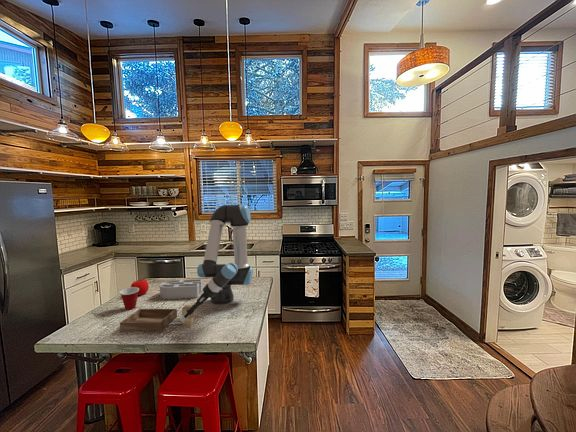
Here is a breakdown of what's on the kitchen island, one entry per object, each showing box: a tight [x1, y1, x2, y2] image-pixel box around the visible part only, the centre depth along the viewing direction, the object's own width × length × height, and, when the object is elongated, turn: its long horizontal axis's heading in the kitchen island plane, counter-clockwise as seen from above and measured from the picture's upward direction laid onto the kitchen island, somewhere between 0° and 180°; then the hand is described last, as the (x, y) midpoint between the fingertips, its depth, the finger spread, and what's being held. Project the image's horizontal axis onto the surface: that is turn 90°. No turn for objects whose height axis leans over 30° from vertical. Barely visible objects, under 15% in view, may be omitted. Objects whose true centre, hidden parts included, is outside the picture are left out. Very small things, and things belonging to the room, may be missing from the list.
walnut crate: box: [119, 308, 178, 333], centre depth 150 cm, size 18×22×5 cm
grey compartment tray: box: [159, 278, 204, 300], centre depth 196 cm, size 17×28×9 cm, turn 95°
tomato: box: [130, 279, 150, 296], centre depth 197 cm, size 12×12×11 cm
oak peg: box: [181, 304, 196, 328], centre depth 149 cm, size 5×5×10 cm
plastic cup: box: [119, 286, 139, 311], centre depth 172 cm, size 11×11×12 cm
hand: (186, 315), depth 148 cm, fingers open, 13 cm apart
